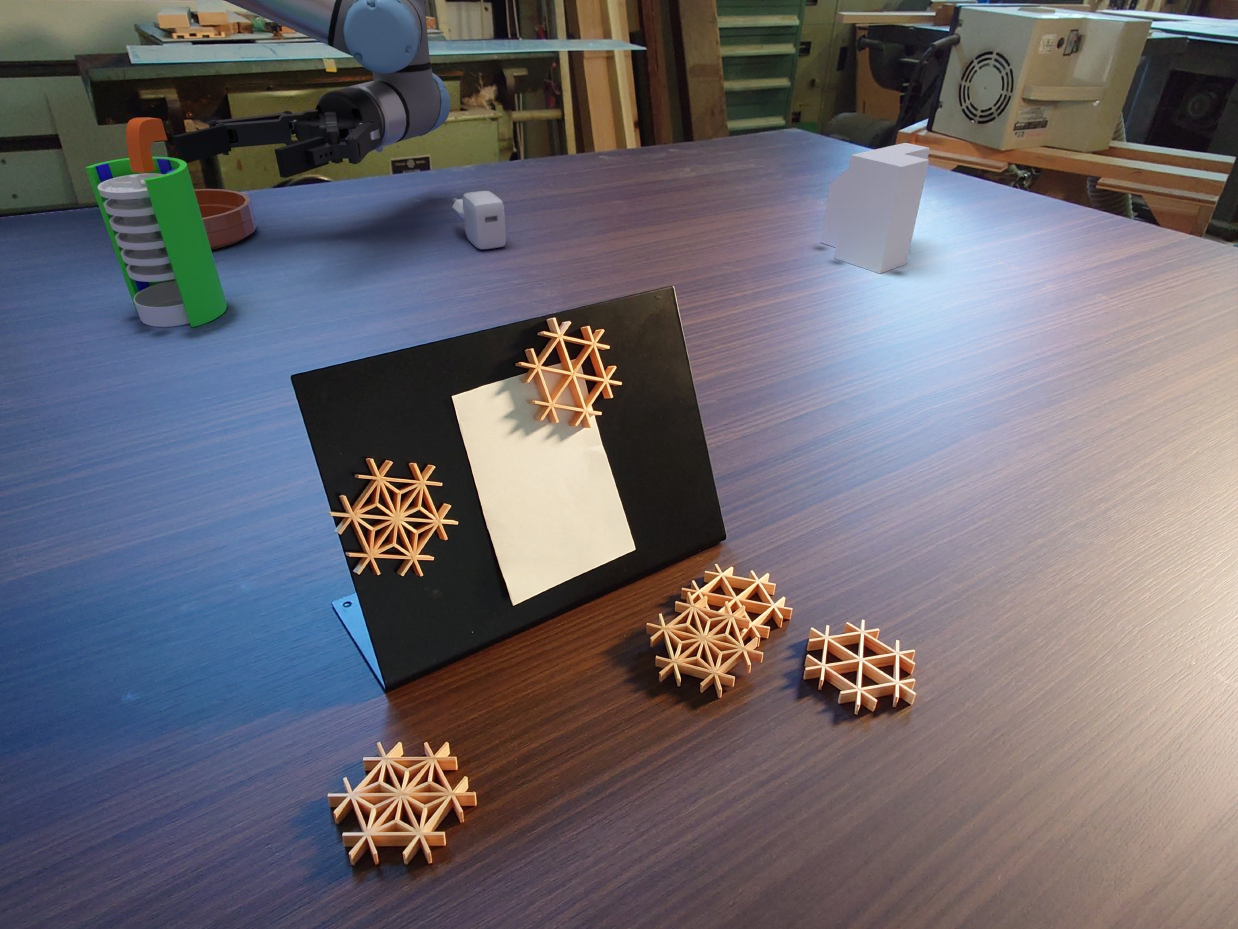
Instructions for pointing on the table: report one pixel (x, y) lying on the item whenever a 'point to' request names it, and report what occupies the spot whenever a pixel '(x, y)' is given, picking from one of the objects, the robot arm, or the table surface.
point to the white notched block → (876, 206)
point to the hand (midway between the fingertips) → (227, 156)
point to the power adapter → (482, 219)
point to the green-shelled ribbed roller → (158, 232)
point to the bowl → (225, 216)
